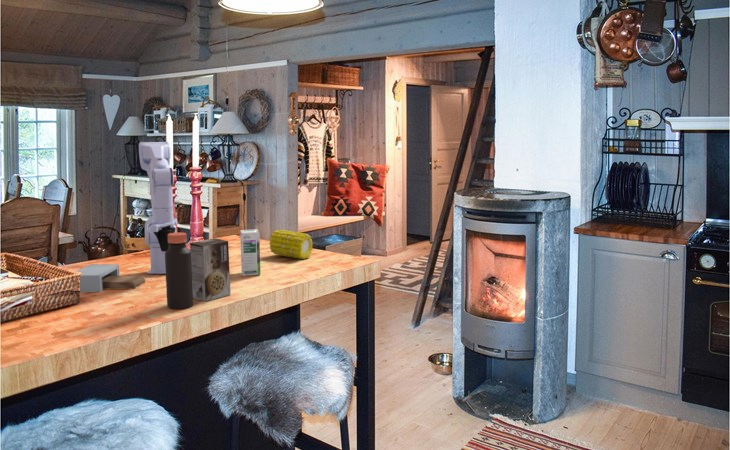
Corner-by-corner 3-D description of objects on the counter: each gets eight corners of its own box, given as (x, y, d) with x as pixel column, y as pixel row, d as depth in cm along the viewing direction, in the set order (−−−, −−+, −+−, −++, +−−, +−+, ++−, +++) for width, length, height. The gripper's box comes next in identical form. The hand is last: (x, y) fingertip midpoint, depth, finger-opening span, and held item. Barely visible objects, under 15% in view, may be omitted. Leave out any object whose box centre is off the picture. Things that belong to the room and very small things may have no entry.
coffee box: (217, 291, 192) (215, 237, 190) (231, 295, 188) (229, 240, 186) (191, 297, 185) (189, 242, 183) (205, 301, 181) (203, 245, 179)
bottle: (162, 306, 177) (158, 234, 173) (183, 301, 182) (179, 230, 179) (177, 311, 172) (174, 237, 169) (198, 305, 178) (195, 233, 175)
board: (144, 284, 203) (144, 276, 202) (134, 290, 195) (133, 282, 195) (95, 282, 204) (94, 275, 204) (82, 289, 196) (82, 281, 196)
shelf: (119, 279, 206) (118, 264, 205) (100, 292, 191) (99, 275, 190) (91, 279, 206) (90, 264, 205) (70, 291, 191) (68, 275, 191)
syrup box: (242, 276, 211) (241, 232, 209) (241, 272, 217) (240, 229, 214) (260, 275, 212) (259, 231, 210) (258, 271, 218) (257, 228, 216)
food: (317, 257, 240) (317, 230, 238) (295, 263, 231) (294, 235, 229) (288, 252, 249) (287, 226, 248) (265, 257, 240) (264, 230, 238)
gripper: (161, 204, 207) (163, 246, 209) (139, 210, 193) (142, 255, 195) (182, 204, 206) (184, 246, 208) (162, 211, 192) (164, 256, 194)
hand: (165, 251), depth 201 cm, fingers closed
